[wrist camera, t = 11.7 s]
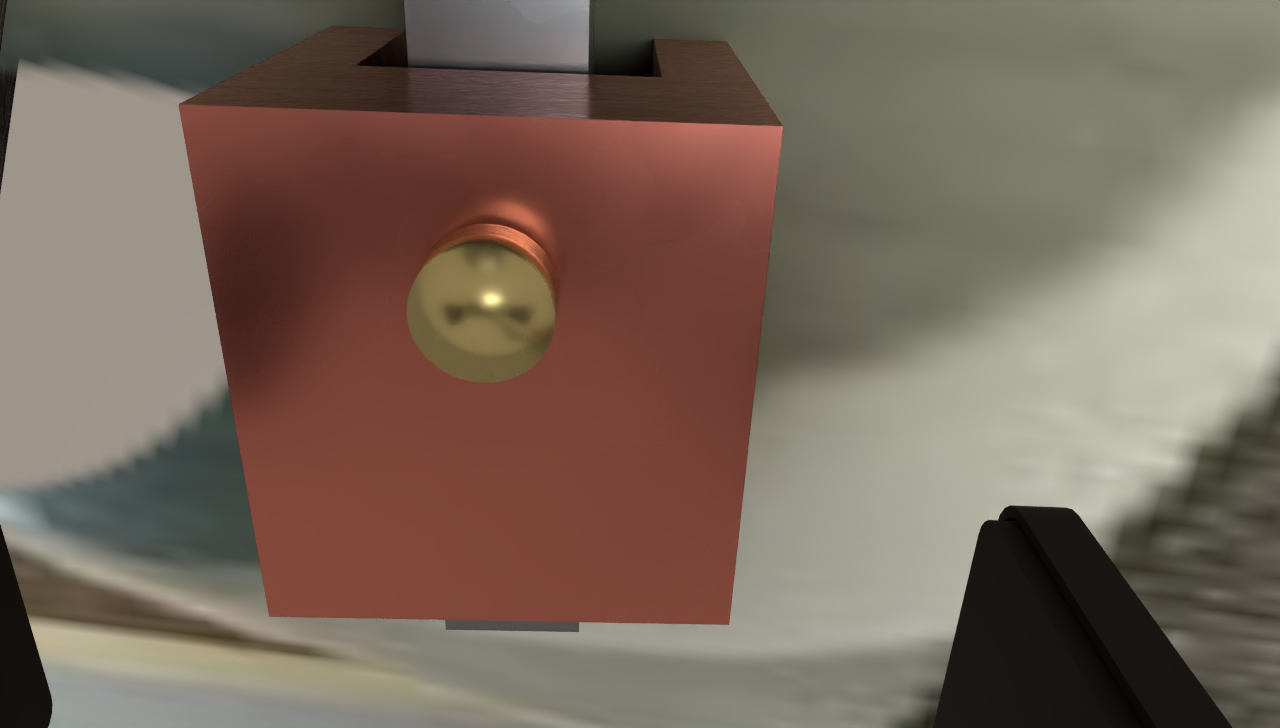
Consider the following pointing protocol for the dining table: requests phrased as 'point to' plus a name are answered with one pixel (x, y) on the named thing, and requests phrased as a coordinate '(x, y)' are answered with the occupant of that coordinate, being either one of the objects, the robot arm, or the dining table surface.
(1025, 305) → the dining table surface
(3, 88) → the picture frame
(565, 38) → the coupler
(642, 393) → the block
